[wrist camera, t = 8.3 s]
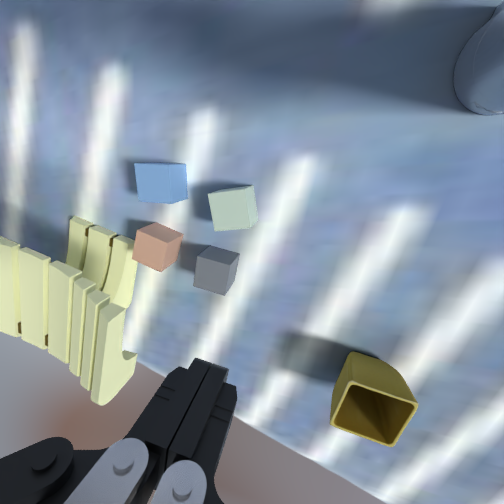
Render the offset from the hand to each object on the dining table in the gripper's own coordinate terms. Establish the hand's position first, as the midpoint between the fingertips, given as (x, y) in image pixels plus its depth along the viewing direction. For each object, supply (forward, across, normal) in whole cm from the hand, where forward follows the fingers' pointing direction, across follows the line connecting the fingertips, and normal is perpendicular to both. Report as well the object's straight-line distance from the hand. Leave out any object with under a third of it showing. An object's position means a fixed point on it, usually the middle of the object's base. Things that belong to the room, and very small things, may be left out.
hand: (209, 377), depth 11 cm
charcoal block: (+29, +8, +9) cm, 31 cm away
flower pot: (+29, -18, +20) cm, 40 cm away
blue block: (+29, +18, -2) cm, 34 cm away
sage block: (+29, +7, -1) cm, 30 cm away
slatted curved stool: (+29, +30, +17) cm, 45 cm away
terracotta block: (+29, +18, +8) cm, 35 cm away
